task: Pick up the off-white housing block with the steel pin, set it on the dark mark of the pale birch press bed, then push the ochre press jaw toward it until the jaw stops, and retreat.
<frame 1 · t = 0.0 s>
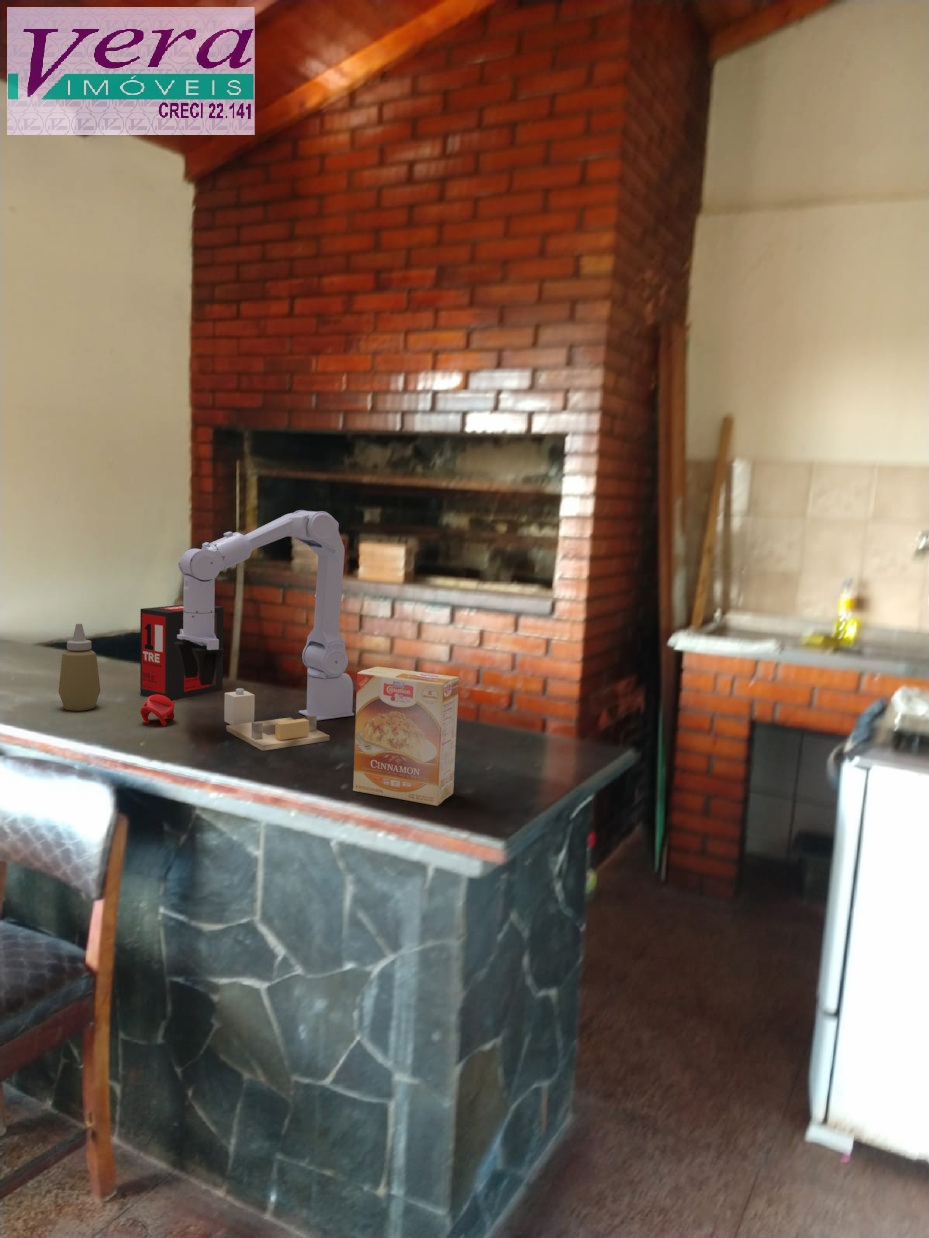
hand: (198, 680, 165), 10 cm above the countertop, fingers open, 7 cm apart
coffeecake box: (403, 793, 137), on the countertop
housing: (239, 722, 175), on the countertop
cleaning product box: (182, 693, 199), on the countertop
squeeze bottle: (79, 709, 180), on the countertop
red toy chair: (159, 723, 172), on the countertop
press jaw: (292, 729, 161), point 3 cm above the countertop, slide at 0.0 cm
press bed: (277, 735, 166), on the countertop
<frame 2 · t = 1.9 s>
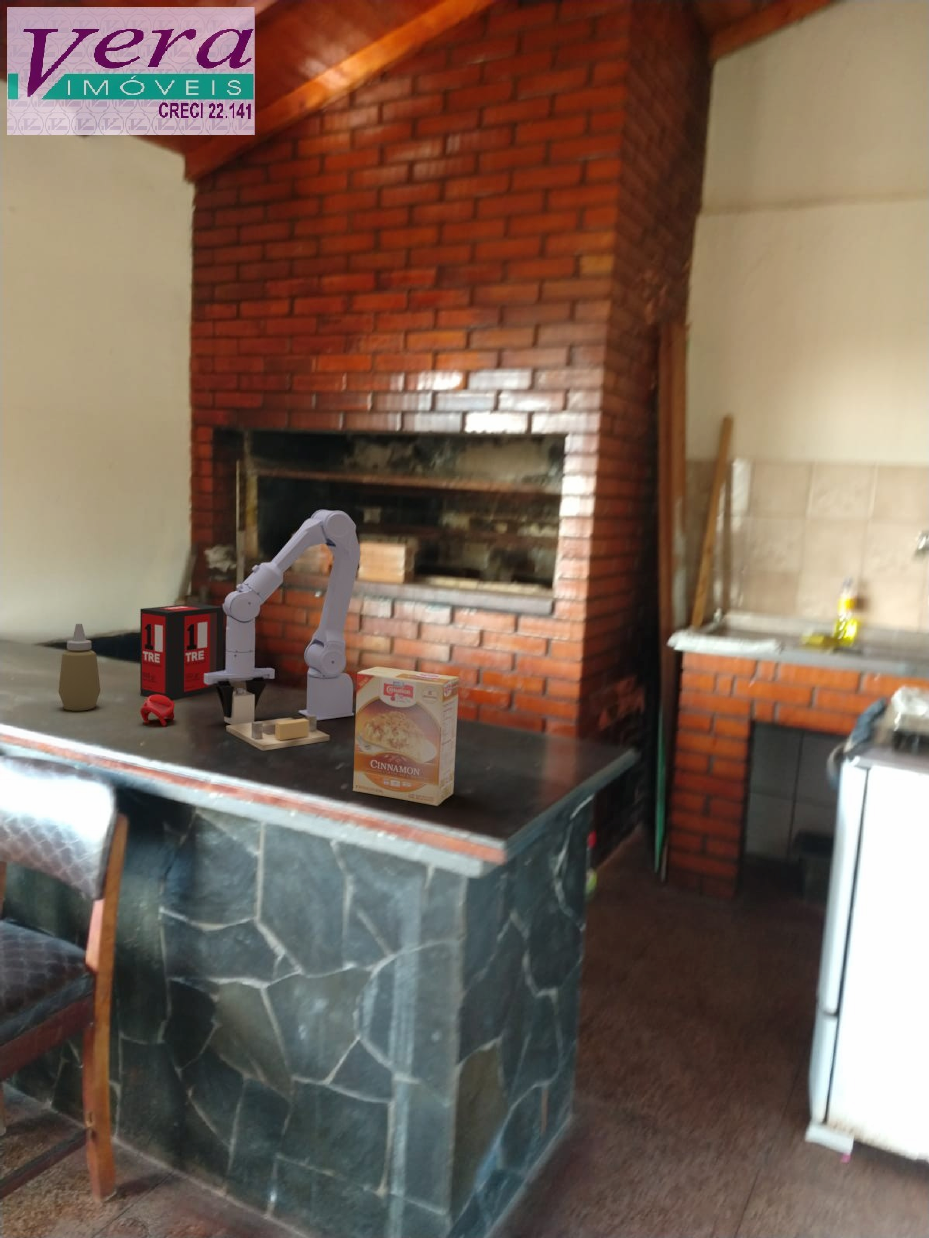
hand: (239, 715, 175), 1 cm above the countertop, fingers closed on housing, 4 cm apart
housing: (239, 722, 175), on the countertop, touching gripper
everything else where it was.
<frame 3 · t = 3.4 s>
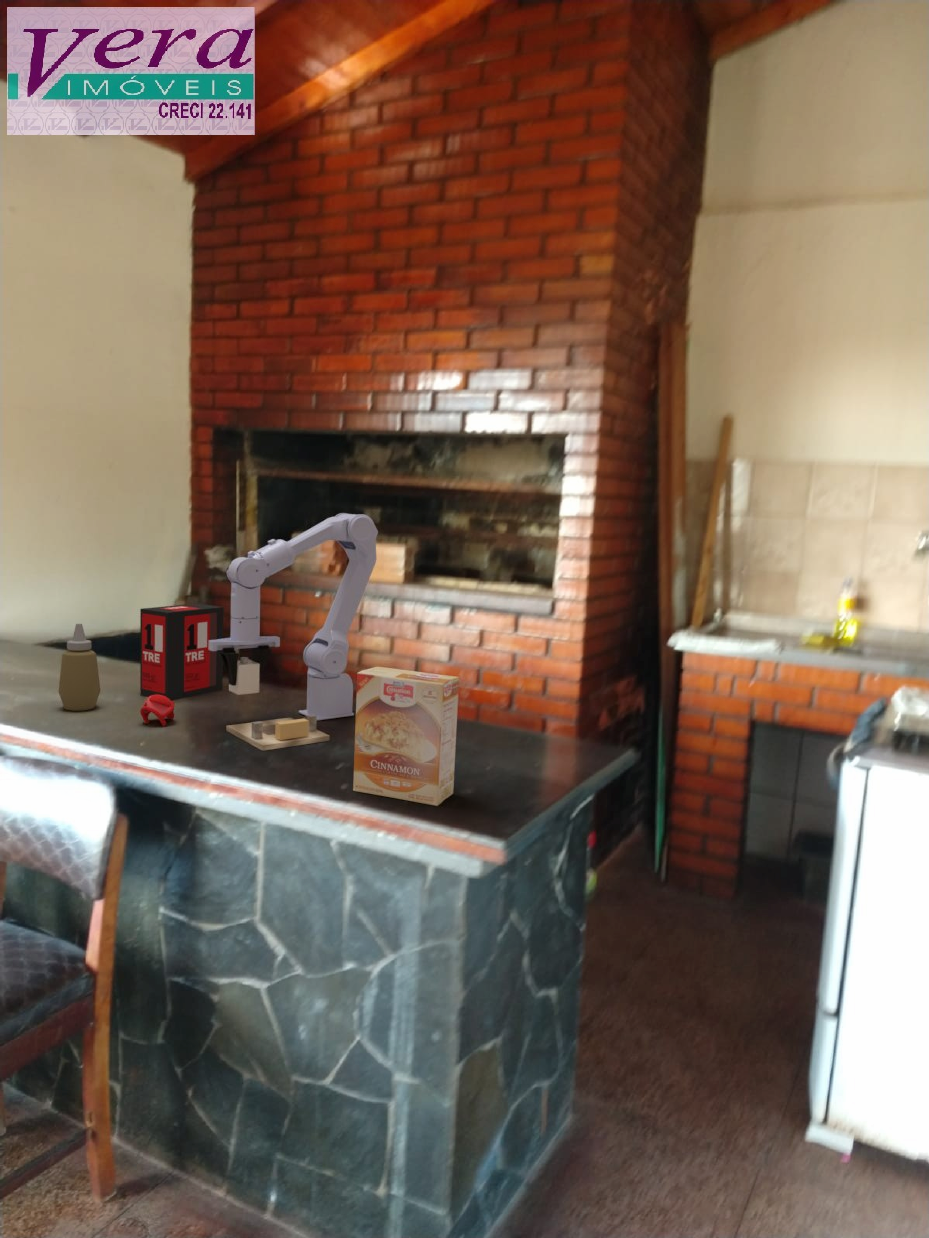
hand: (244, 683, 173), 8 cm above the countertop, fingers closed on housing, 4 cm apart
housing: (243, 691, 173), point 7 cm above the countertop, touching gripper
everything else where it was.
when the fingers open (4 cm above the countertop, at t = 5.3 s): housing stays where it is, resting on press bed.
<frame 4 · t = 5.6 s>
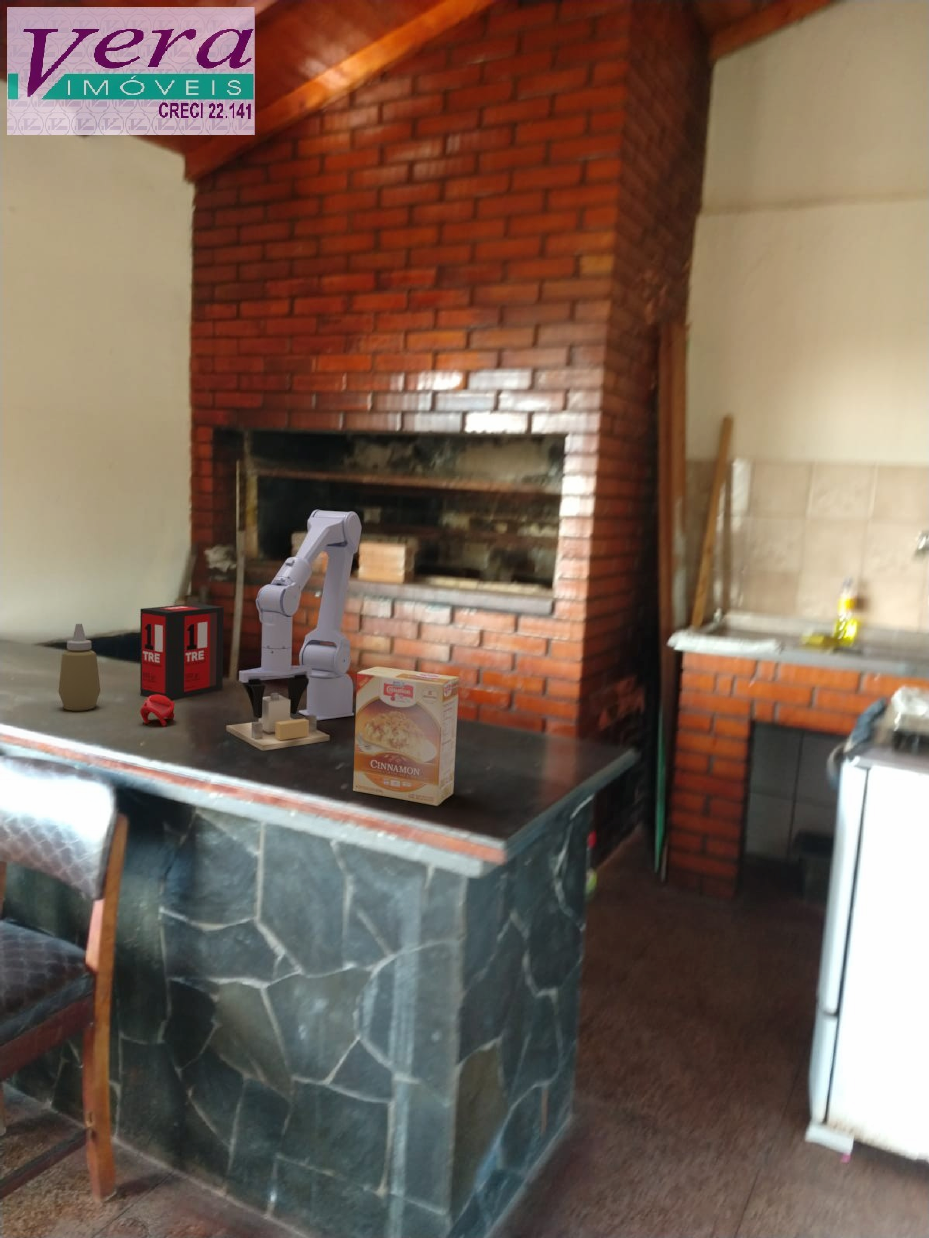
hand: (275, 714, 167), 4 cm above the countertop, fingers open, 7 cm apart
housing: (274, 728, 167), point 1 cm above the countertop, touching press bed
everything else where it was.
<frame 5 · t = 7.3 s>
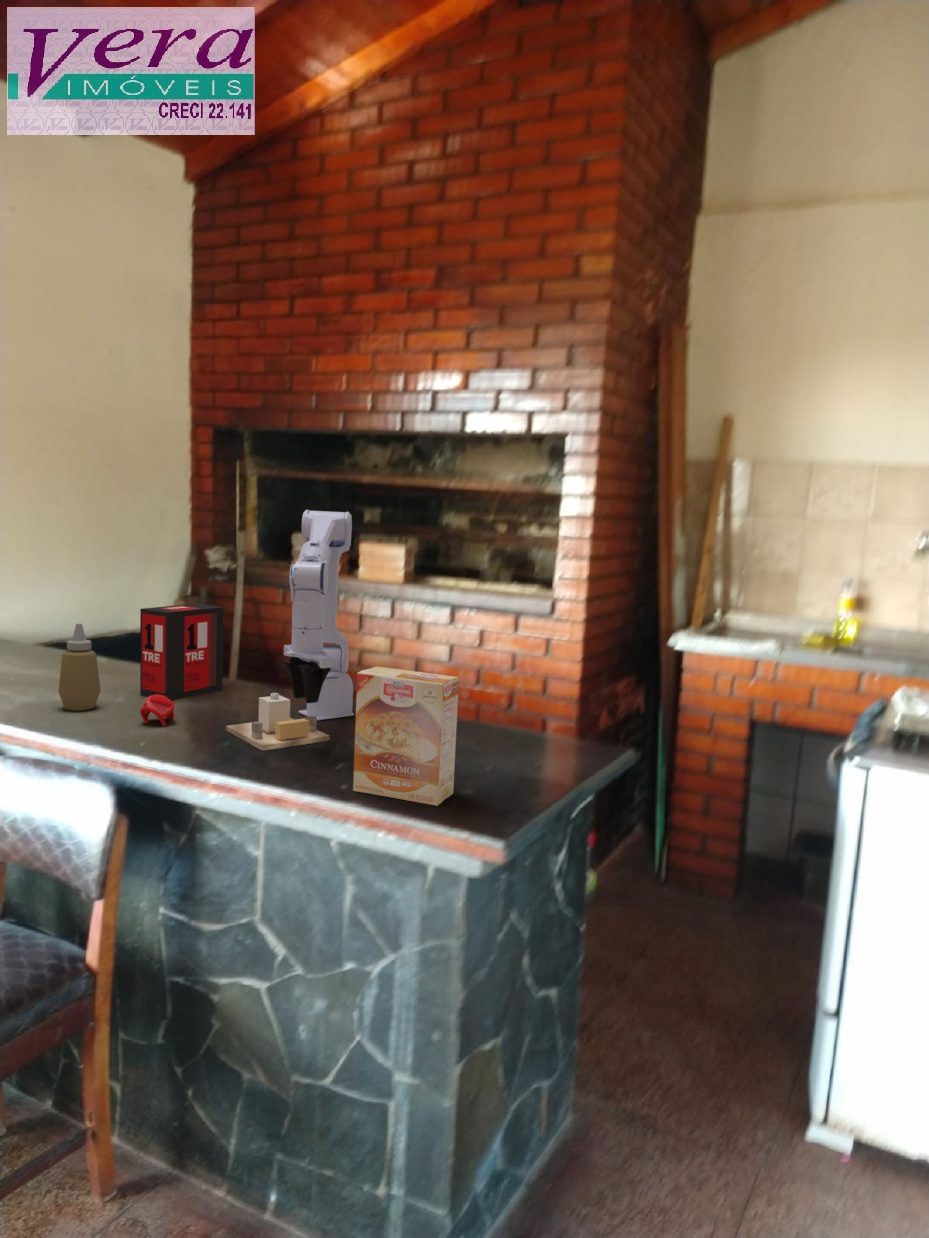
hand: (305, 700, 157), 9 cm above the countertop, fingers open, 4 cm apart
nothing on the countertop moved.
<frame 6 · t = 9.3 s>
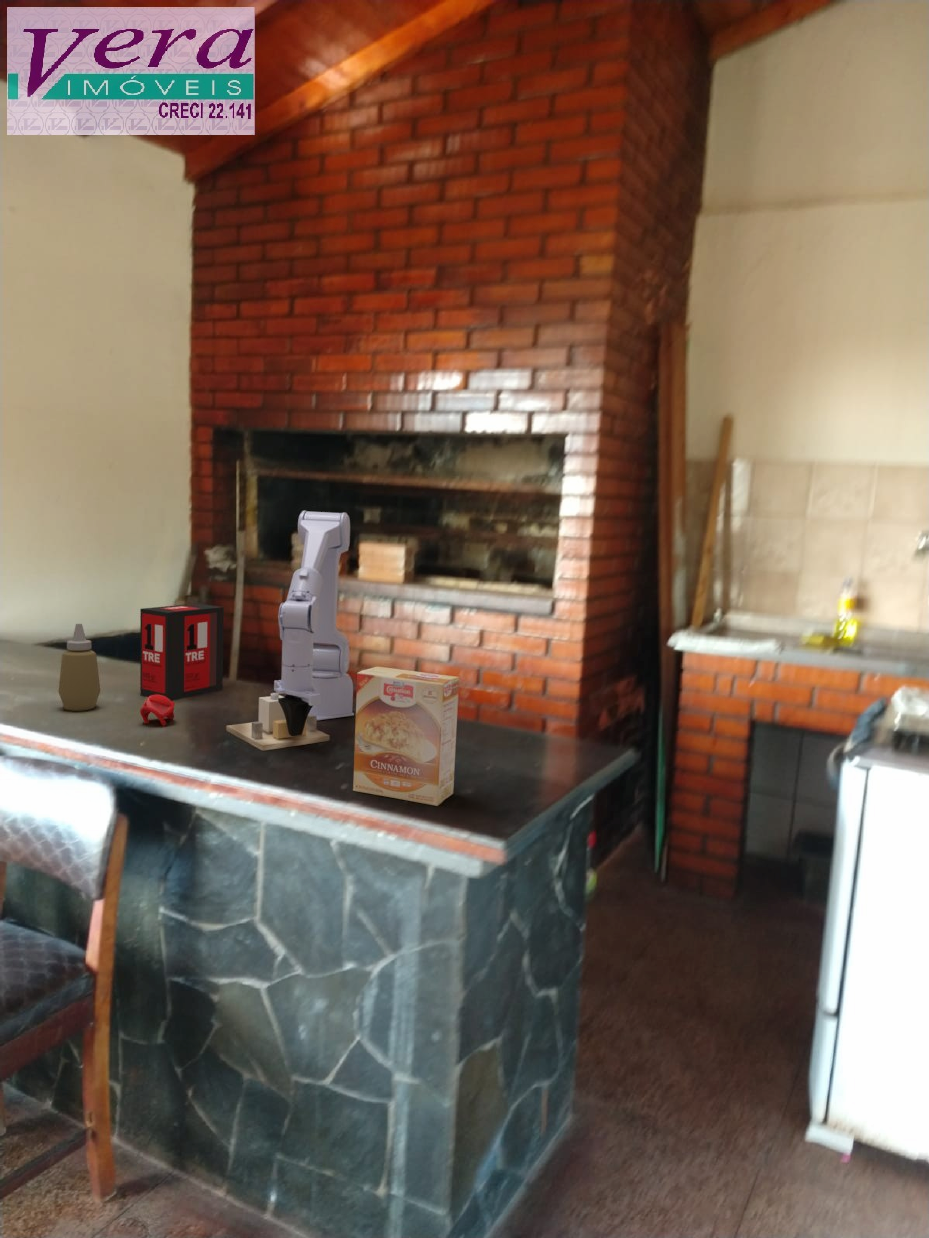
hand: (295, 735, 160), 2 cm above the countertop, fingers closed
press jaw: (289, 727, 162), point 3 cm above the countertop, slide at 1.0 cm, touching gripper
everything else where it was.
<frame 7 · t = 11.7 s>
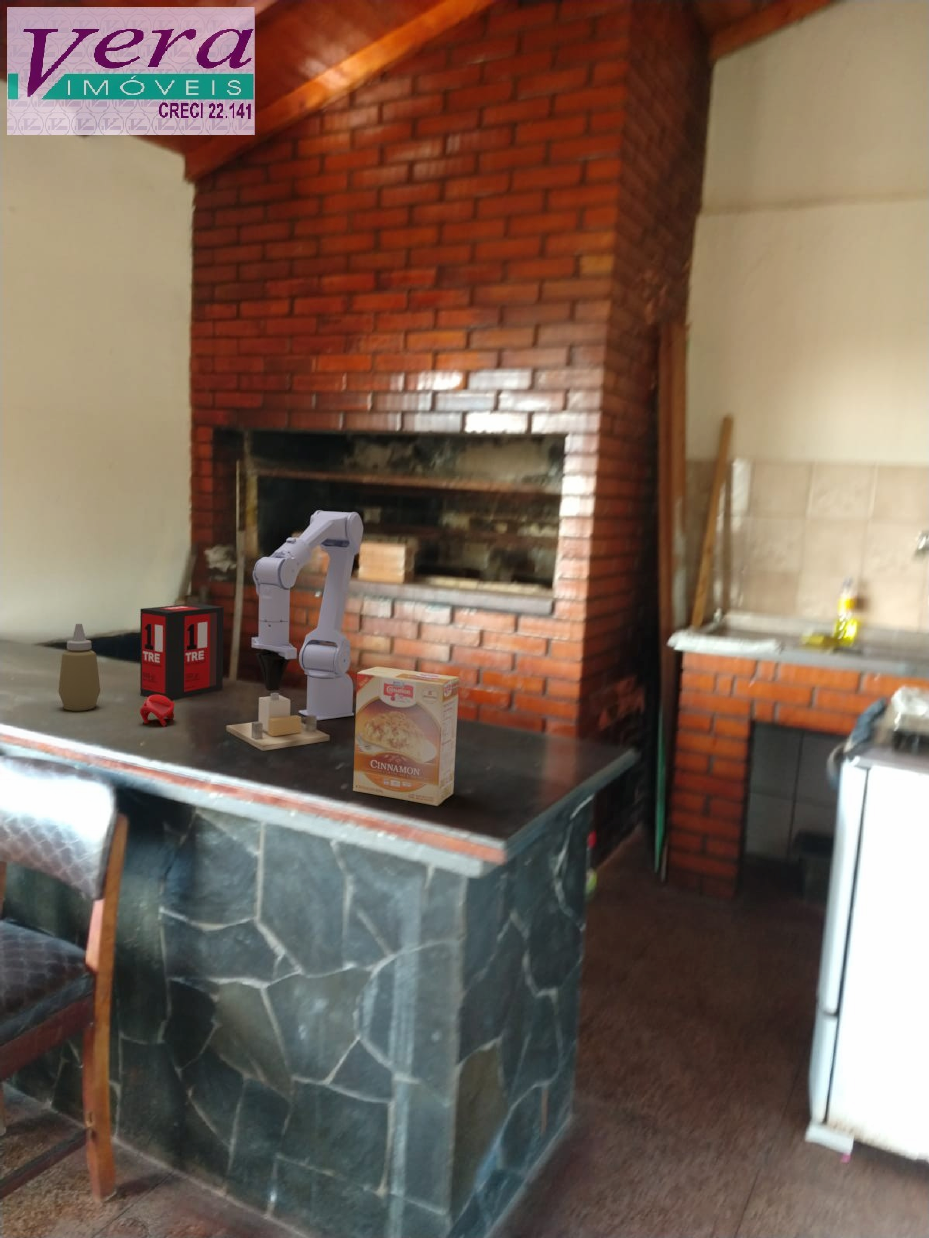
hand: (272, 689, 164), 9 cm above the countertop, fingers closed
press jaw: (284, 725, 164), point 3 cm above the countertop, slide at 3.0 cm
everything else where it was.
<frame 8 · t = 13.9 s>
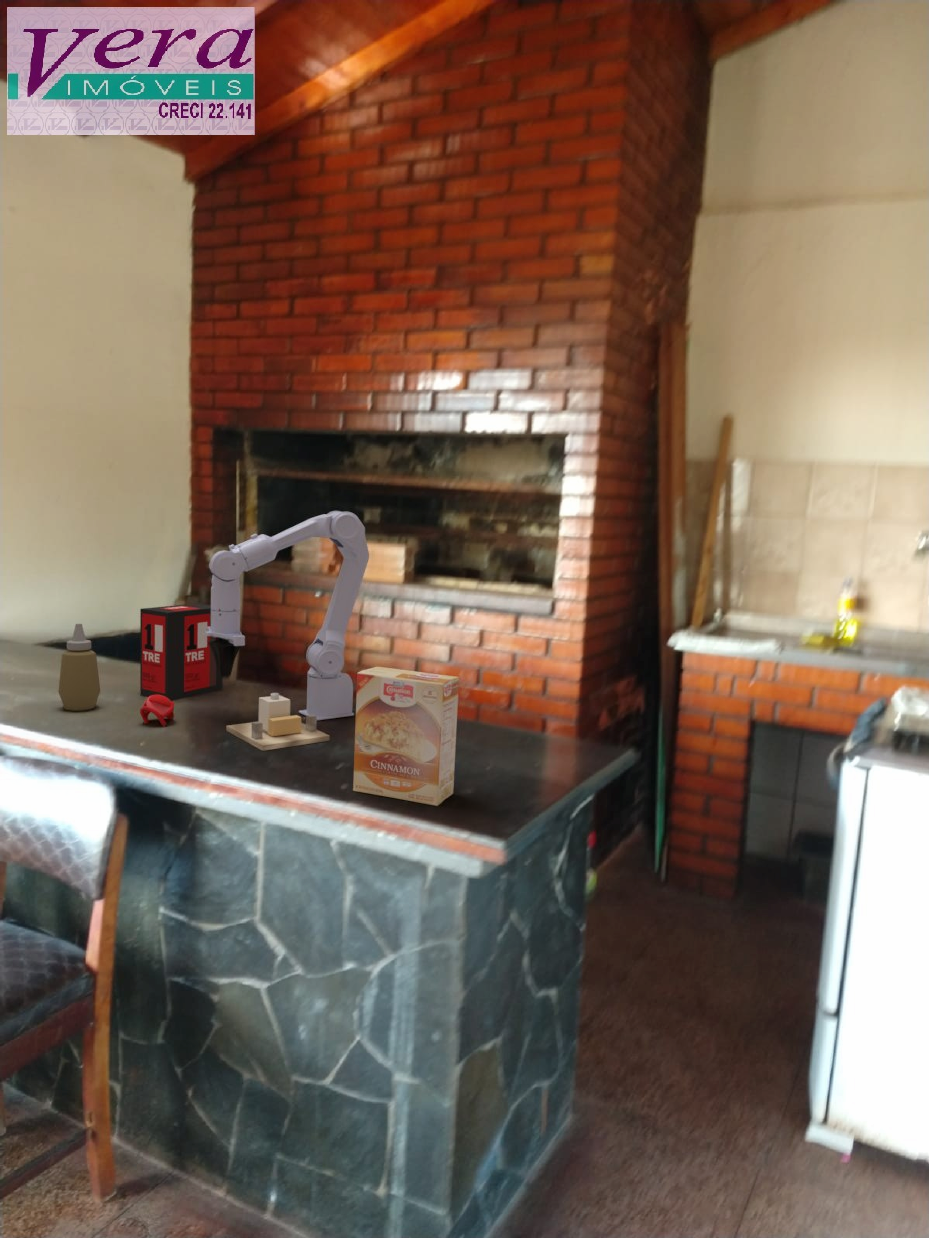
hand: (224, 675, 175), 9 cm above the countertop, fingers closed
nothing on the countertop moved.
at the end: housing 0.4 cm from the target spot on the press bed, point 1.1 cm above the press bed's base; press jaw slide at 3.0 cm; housing tilted 0° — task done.
